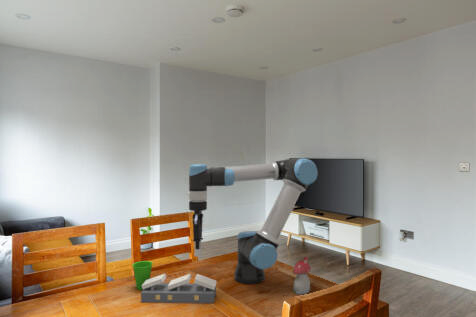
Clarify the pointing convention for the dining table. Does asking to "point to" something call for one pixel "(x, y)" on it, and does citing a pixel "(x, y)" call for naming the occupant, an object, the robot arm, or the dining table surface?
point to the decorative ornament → (301, 277)
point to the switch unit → (178, 294)
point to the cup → (142, 272)
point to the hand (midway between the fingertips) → (197, 255)
